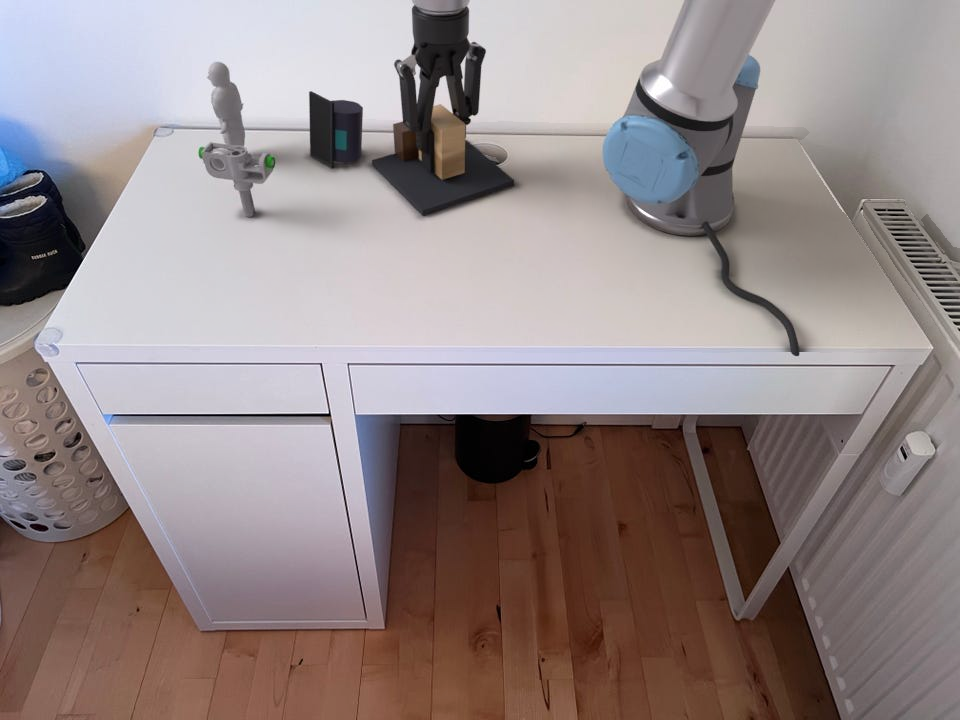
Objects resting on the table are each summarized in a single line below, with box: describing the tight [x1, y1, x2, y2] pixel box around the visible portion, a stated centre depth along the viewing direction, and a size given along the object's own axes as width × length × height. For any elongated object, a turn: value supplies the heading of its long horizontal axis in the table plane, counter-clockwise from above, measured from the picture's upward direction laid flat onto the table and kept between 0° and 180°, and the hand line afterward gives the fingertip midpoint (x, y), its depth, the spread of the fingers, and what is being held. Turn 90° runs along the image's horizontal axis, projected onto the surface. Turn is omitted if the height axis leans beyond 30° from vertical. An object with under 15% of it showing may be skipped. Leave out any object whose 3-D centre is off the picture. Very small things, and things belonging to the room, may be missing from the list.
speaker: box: [308, 90, 364, 170], centre depth 114 cm, size 8×6×10 cm
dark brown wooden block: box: [392, 121, 419, 162], centre depth 116 cm, size 4×8×5 cm, turn 123°
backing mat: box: [371, 139, 515, 217], centre depth 115 cm, size 16×16×1 cm
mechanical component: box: [198, 141, 277, 218], centre depth 103 cm, size 3×10×10 cm, turn 78°
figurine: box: [206, 61, 246, 147], centre depth 112 cm, size 9×4×15 cm, turn 174°
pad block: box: [419, 103, 466, 180], centre depth 111 cm, size 7×4×8 cm, turn 33°
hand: (441, 164), depth 114 cm, fingers closed on pad block, 4 cm apart
